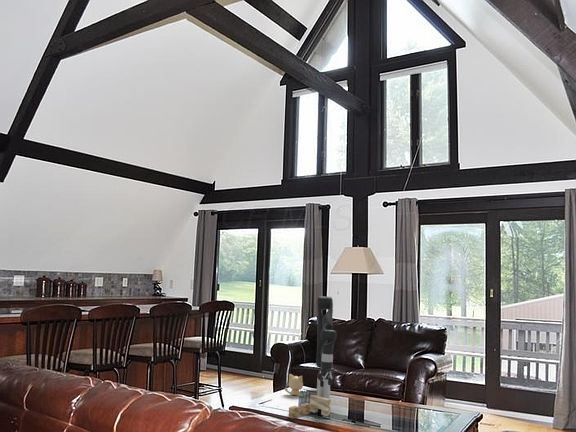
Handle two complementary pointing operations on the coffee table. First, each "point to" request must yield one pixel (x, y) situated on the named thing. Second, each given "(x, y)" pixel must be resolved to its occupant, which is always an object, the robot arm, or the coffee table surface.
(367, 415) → the coffee table surface
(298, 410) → the oak slotted rail
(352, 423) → the coffee table surface
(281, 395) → the coffee table surface
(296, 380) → the kitten
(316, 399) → the birch slotted plate
